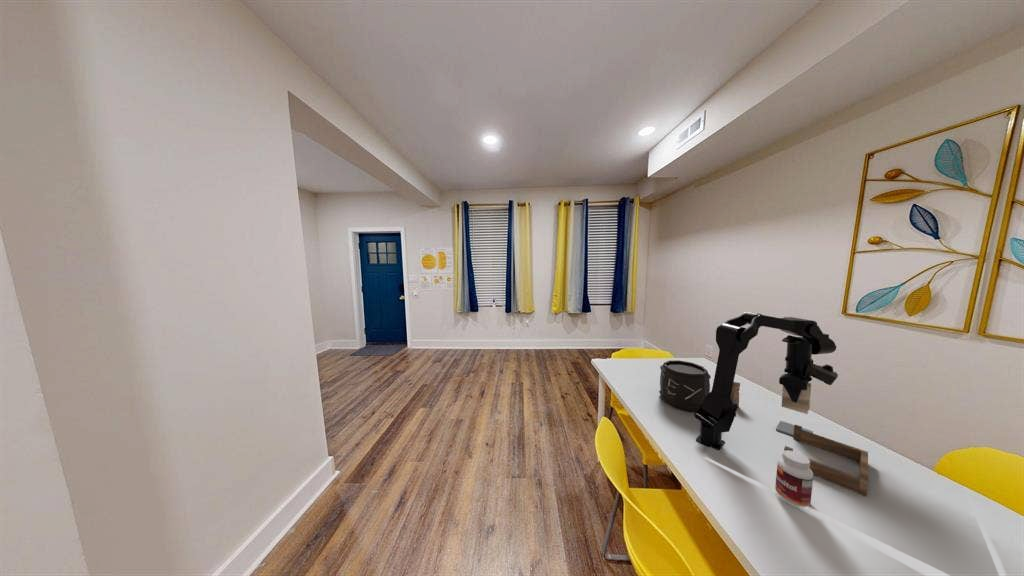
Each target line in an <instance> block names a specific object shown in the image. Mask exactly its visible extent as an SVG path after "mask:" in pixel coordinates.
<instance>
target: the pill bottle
mask: <svg viewBox="0 0 1024 576" xmlns="http://www.w3.org/2000/svg"><path fill="white" fill-rule="evenodd" d="M781 456H782V457H780V458H779V459H778V460H777V463H776V464H777V465H776V473H775V474H776V475H775V484H774V486H775V489H774V490H775V491H776V493H777V495H779V497H781V498H782V499H783V500H785V501H786V502H788V503H789V504H791V505H792V504H793V505H794V506H797V507H802V508H806V507H809V506H810V505H811V502H812V493H813V483H814V475H813V472H812V470H811V469H810V468H809V467H810V460H809V459H810V458H809V457H807V456H806V455H803V454H801V453H800V452H797V451H794V450H793V451H789V450H785V451H784V450H783V451H782V455H781ZM808 458H809V459H808Z"/></svg>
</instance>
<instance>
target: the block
mask: <svg viewBox="0 0 1024 576" xmlns="http://www.w3.org/2000/svg"><path fill="white" fill-rule="evenodd" d="M808 386H809V387H808V389H807V390H801V393H800V395H799V398H798V401H797V403H796V402H792V400H791V398H790V396H789V394H788V392H787V391H786V389H785V387H784V385H782V390H781V391H782V392H781V393H782V395H781V407H782V408H785V409H788V410H792V411H795V412H798V413H802V414H805V415H808V414H809V411H810V407H811V406H810V405H811V391H812V383H811V382H809V385H808Z"/></svg>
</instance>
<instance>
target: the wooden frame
mask: <svg viewBox="0 0 1024 576" xmlns="http://www.w3.org/2000/svg"><path fill="white" fill-rule="evenodd" d="M793 425H794V434H793V436H792V437H793V438H792V439H793V440H795V441H798V442H801V443H804V444H807V445H810V446H812V447H815V448H817V449H821V450H824V451H827V452H829V453H832V454H835V455H837V456H840V457H844V458H847V459H848V460H852V461H854V462H857V463H859V476H858V477H857V476H855V475H853V474H850V473H848V472H846V471H845V472H844V471H842V470H840V469H837V468H834V467H832V466H829V465H827V464H824V463H823V462H819V461H816V460H814V459H811V458H809V457H807V458H808V459H809V460H810V467H809V468H810V469H811V470H812V472H813V476H814V475H815V476H816V477H819V478H820V479H823V480H826V481H827V482H830V483H833V484H835V485H838V486H840V487H843V488H845V489H847V490H849V491H852V492H855V493H857V494H859V495H862V496H864V497H867V495H868V494H867V493H868V485H869V452H868V451H867V450H863V449H860V448H857V447H855V446H851V445H849V444H846V443H843V442H839V441H836V440H833V439H831V438H827V437H824V436H821V435H819V434H815V433H814V432H813V433H810V432H807V431H804V430H802V428H803V426H802V425H798V424H793ZM785 450H789V451H794V448H792V447H790V446H787V445H785V446H784V449H783V451H785Z"/></svg>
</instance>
